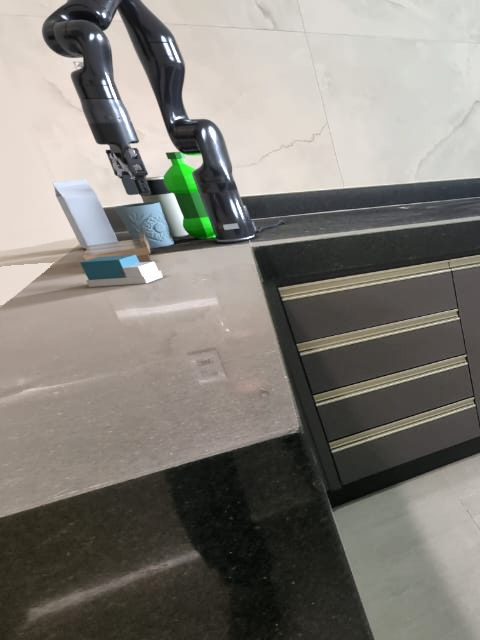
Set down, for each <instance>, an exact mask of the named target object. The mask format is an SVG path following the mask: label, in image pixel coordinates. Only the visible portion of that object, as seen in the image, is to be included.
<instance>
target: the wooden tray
mask: <svg viewBox="0 0 480 640" xmlns="http://www.w3.org/2000/svg"><path fill="white" fill-rule="evenodd" d="M151 253H152V252H151V248H150V245H149V242H148V240H147V237H146V235H145V233H144V232H140V239H134V240H133V239H129V240H128V239H127V240H121V241H119V240H118V242H112V243H104V244H97V245H89V246H88V247H87V249H85V251H84V253H83V255H82V256H83V259H84V261H86V260H89V259H93V258H96V257H106V256H121V255H136V256H137V258H138V260H139V262H153V260H152V259H151V257H150V255H151Z"/></svg>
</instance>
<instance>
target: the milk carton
mask: <svg viewBox="0 0 480 640" xmlns="http://www.w3.org/2000/svg"><path fill="white" fill-rule="evenodd" d="M52 185H53V187H54V193H55V197H56V200H57V201H58V203H59V205H60V208H61V209H62V211H63V213H64V215H65V217H66V220H67V221H68V223H69V225H70V227H71V229H72V231H73V233H74V235H75V238H76V240H77V241H78V243H79V245H80V247H81V249H85V250H86V249H87V247H88V246H89V245H97V244H104V243H112V242H119V240H118V238H117V235H116V233H115V231H114V229H113V227H112V225H111V223H110V220H109V218H108V216H107V214H106V212H105V210H104V207H103V205H102V203H101V201H100V199H99V197H98V195H97V193H96V192H95V190H94V189H93V188H92V187H91V185H90V184H89V182H88V180H87V179H73V180H63V181H52Z"/></svg>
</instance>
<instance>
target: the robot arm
mask: <svg viewBox="0 0 480 640" xmlns="http://www.w3.org/2000/svg"><path fill="white" fill-rule="evenodd" d="M117 12H118V15H119V16H120V19H121V21H122V24H123V26H124V29H125V30H126V32H127V35H128V37H129V40H130V42H131V44H132V47H133V50H134V52H135V53H136V56H137V59H138V61H139V63H140V65H141V66H142V68H143V71H144V73H145V75H146V78H147V80H148V82H149V85H150V88H151V90H152V92H153V95H154V98H155V100H156V102H157V105H158V108H159V112H160V115H161V117H162V121H163V124H164V126H165V130H166V132H167V135H168V137H169V140H170V141H171V143H172V145H173V146H174V148H176V150H177V152H181V153H183V154H184V155H185V156H201V158H202V162H201V165H200V166H199V167H197V168H194V169H195V170H194V171H193V172H192V176H193V179H194V181H195V184H196V186H197V189H198V192H199V194H200V197H201V199H202V202H203V205H204V207H205V210H206V212H207V215H208V218H209V220H210V223H211V225H212V228H213V231H214V233H215V236H216V237H215V238H216V239H215V240H216V243H218V244H229V243H238V242H245V241H249V240H253V239H255V238H256V237H257V233H261V232H262V230H264V229H270V228H274V227H277V226H278V225H280V224H284V225H285V224H287V223H286V222H285V221H284V220H283V219H279V220H277V221H276V222H275V223H272V224H268V225H262V226H260V227H257V226H256V225H255V221H253V220H252V217H251V216H250V213H249V210H248V207H247V205H246V204H244V203H243V200H242V198H241V195H240V192H239V190H238V186H237V184H236V181H235V178H234V174H233V165H232V161H231V157H230V153H229V150H228V147H227V144H226V140H225V137H224V135H223V132H222V131H221V129H220V128H219V126H218V125H217V124H216V123H215V122H213V120H211V119H208V118H190V117H189V115H188V112H187V110H186V107H185V104H184V99H183V90H184V86H185V85H184V84H185V78H186V62H185V59H184V57H183V54H182V51H181V50H180V46H179V44H178V42H177V39H176V37H175V35H174V34H173V32H172V31H171V30H170V29H169V27H168V26H167V25H166V24H165V23H164V22H163V21H162V20H161V19H160V18H159V17H158V16H157V15H155V13H153V11H151V9H149V7H148V6H146V5H145V3H143V1H142V0H66V2H65V3H63V4H62V5H60V7H58V8H57V9H55V10H54V11H53V12H52V13H51V14H49V15H48V17H46V19H45V20H44V21H43V22H42V26H41V35H42V39H43V41H44V43H45V44H46V46H47V47H48V48H49V50H51V51H52V52H54V53H55V54H56V55H59V56H61V57H63V58H68V59H82V67H80V68H78V69H75V70H73V71H71V72H70V79H71V82H72V85H73V87H74V90H75V92H76V95H77V96H78V99H79V102H80V105H81V109H82V112H83V114H84V117H85V119H86V122H87V125H88V126H89V129H90V131H91V133H92V136H93V138H94V141H95V143H96V144H97V145H101V146H102V145H103V146H105V145H108V147H109V149H105V153H106V155H107V159H108V161H109V163H110V165H111V168H112V170H113V174H114V176H116V177H117V178H118V179H120V181H121V183H122V185H123V186H122V187H123V188H124V191H125V193H126V194H127V195H128V196H136V195H139V196H140V197H141V196H145V195H151V191H150V189H149V186H148V184H147V181H146V179H144V178H147V176H148V175H149V172H148V171H147V167H146V165H145V163H144V161H143V158H142V156H141V154H140V151H139V149H138V147H132V146H131V144H132V145H133V144H139V143H140V140H139V137H138V135H137V132H136V130H135V126H134V124H133V121H132V120H131V116H130V114H129V111H128V110H127V107H126V106H125V104H124V102H123V100H122V97H121V94H120V92H119V89H118V87H117V84H116V82H115V77H114V75H115V74H114V62H113V50H112V46H111V43H110V39H109V38H108V36H107V35H106V33H105V32H104V31H106V30H108V29H109V27H110V26H111V24H112V22H113V21H114V18H115V15H116V13H117ZM256 232H257V233H256Z"/></svg>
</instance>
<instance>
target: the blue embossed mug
mask: <svg viewBox="0 0 480 640" xmlns="http://www.w3.org/2000/svg"><path fill="white" fill-rule="evenodd" d="M114 210H115V212H116V213H117V215H118V217H119V218H120V219H121V221H122V224H123V225H124V226H125V228H126V230H127V232H128V234H129V235H130V236H131V240H134V239H140V232H144V233H145V235H146V237H147V240H148V242H149V245H150V249H157V248H163V247H164V248H165V247H169V246H172V245H174V244H175V241H174V238H173V237H172V234H171V232H170V230H169V226H168V223H167V221H166V219H165V216H164V213H163V210H162V207H161V204H160V202H145V203H144V202H137V203H129V204H123V205H116V206H114Z"/></svg>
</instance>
